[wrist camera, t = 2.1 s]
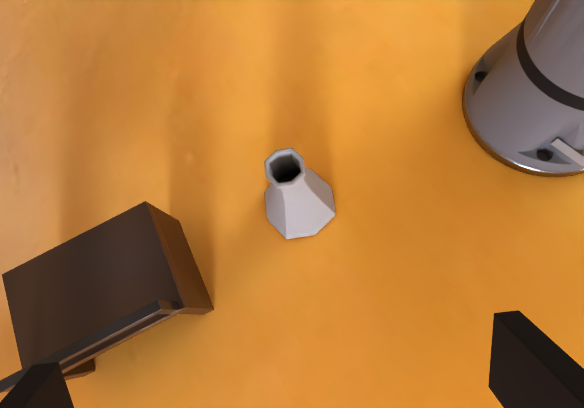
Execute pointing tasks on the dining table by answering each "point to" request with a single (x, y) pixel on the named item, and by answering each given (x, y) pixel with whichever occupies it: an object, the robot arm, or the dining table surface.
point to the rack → (102, 291)
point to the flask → (296, 196)
